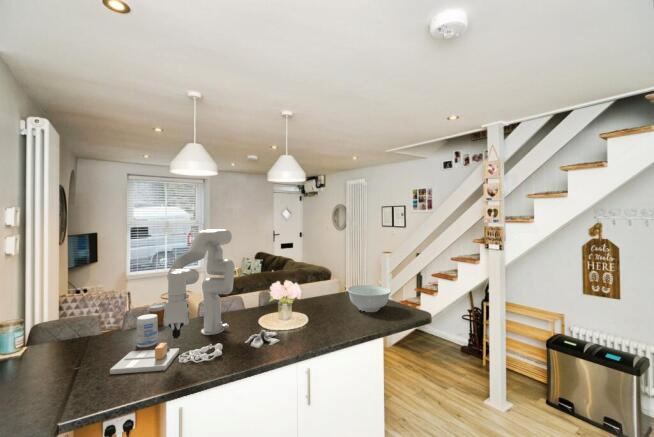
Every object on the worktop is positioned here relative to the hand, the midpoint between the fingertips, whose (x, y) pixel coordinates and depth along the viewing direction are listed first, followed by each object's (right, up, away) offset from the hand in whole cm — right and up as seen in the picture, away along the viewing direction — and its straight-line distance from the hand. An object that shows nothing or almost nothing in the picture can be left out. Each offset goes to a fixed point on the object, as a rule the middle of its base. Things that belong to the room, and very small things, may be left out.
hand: (176, 337), depth 139 cm
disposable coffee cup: (-37, -12, +49) cm, 62 cm away
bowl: (+101, -12, +81) cm, 130 cm away
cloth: (+34, -12, +24) cm, 43 cm away
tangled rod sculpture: (+11, -11, +3) cm, 16 cm away
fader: (-7, -8, 0) cm, 11 cm away
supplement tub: (-25, -11, +19) cm, 33 cm away
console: (-13, -11, -1) cm, 17 cm away
